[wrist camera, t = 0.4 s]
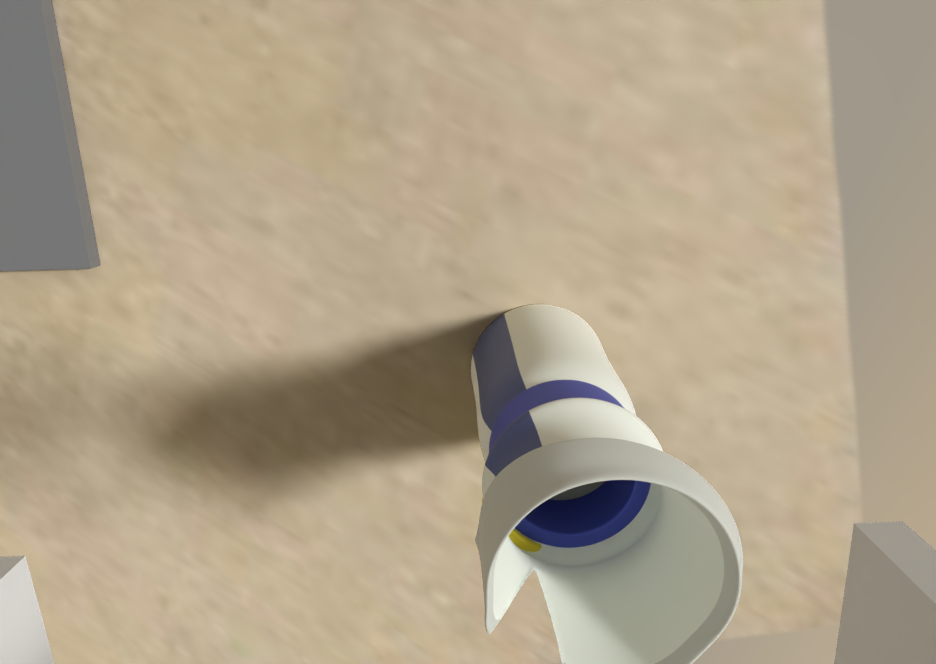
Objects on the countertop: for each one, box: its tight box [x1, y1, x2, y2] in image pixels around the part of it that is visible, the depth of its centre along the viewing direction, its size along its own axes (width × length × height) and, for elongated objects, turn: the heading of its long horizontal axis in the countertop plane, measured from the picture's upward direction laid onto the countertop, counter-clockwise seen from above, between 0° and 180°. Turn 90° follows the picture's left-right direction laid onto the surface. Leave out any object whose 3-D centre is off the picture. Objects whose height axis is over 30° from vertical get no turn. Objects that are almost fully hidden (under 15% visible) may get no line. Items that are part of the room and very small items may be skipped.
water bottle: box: [471, 304, 743, 664], centre depth 25 cm, size 8×9×25 cm
